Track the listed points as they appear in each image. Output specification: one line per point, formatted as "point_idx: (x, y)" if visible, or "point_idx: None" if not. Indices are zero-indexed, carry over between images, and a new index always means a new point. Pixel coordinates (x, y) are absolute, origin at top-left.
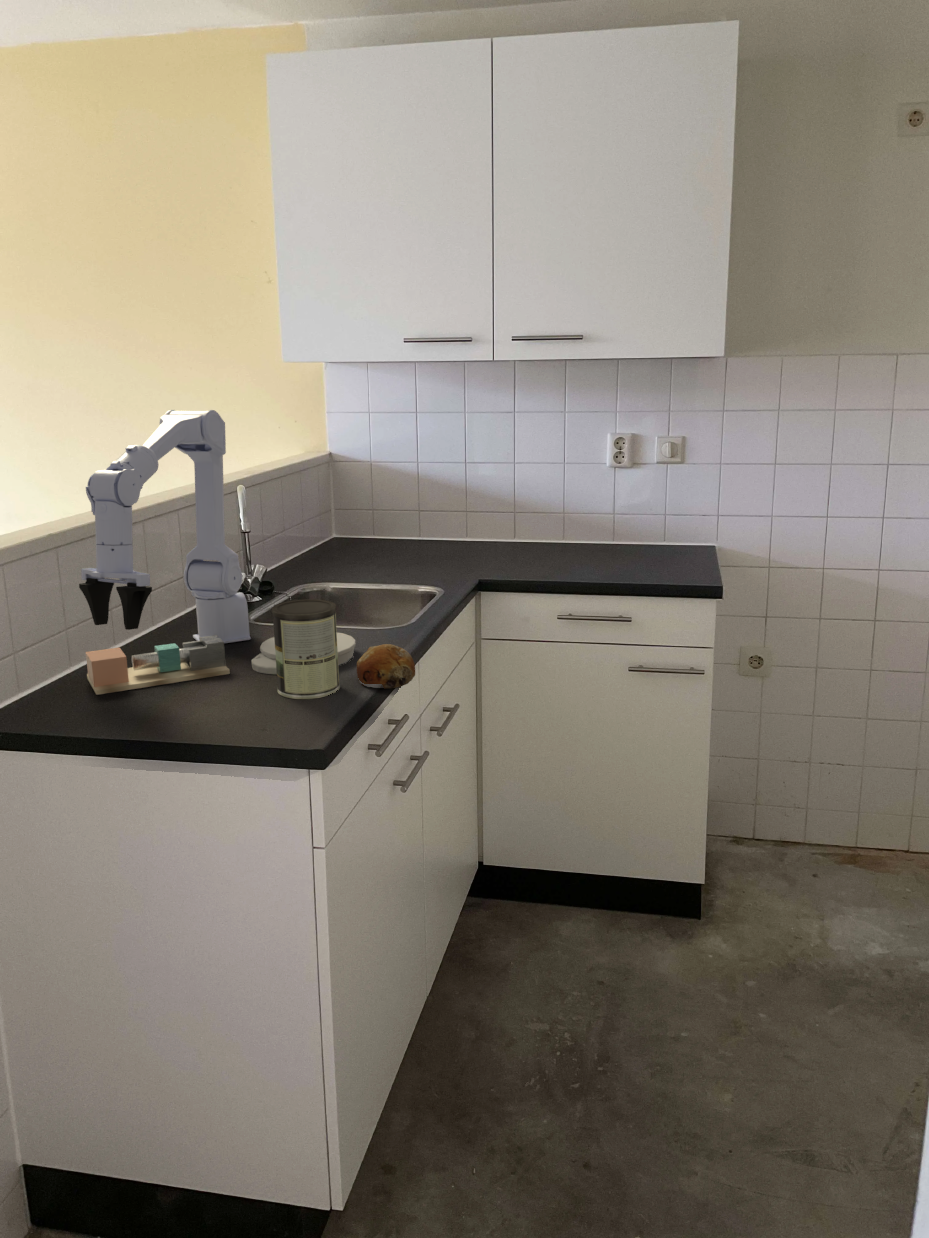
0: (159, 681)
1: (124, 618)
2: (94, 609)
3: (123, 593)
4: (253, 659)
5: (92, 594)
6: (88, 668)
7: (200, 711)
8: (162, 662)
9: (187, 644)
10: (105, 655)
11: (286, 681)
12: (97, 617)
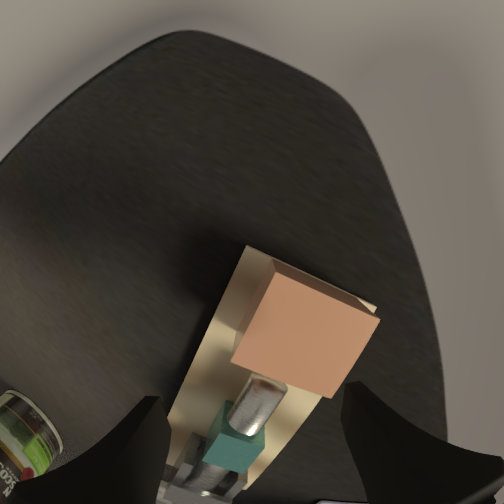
0: (189, 369)
1: (134, 421)
2: (373, 425)
3: (38, 490)
4: (160, 489)
5: (404, 481)
6: (346, 297)
7: (24, 296)
8: (220, 417)
9: (234, 482)
10: (295, 335)
11: (3, 401)
12: (355, 408)
